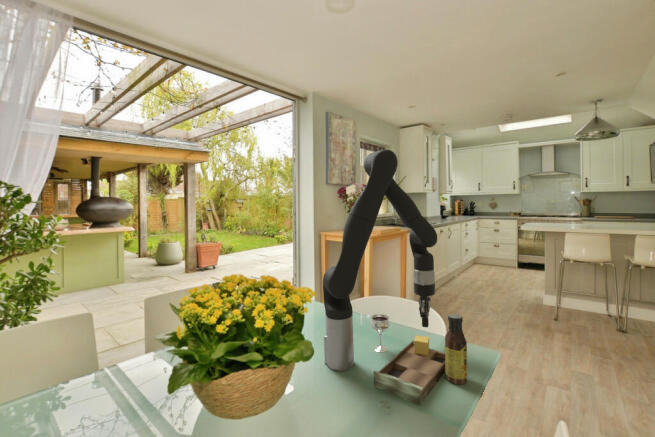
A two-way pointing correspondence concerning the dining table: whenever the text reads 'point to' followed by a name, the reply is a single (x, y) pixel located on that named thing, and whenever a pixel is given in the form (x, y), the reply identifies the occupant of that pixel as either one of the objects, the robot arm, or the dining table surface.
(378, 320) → the wineglass
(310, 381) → the dining table surface
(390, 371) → the trap deck
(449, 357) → the sauce bottle
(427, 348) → the mustard block
